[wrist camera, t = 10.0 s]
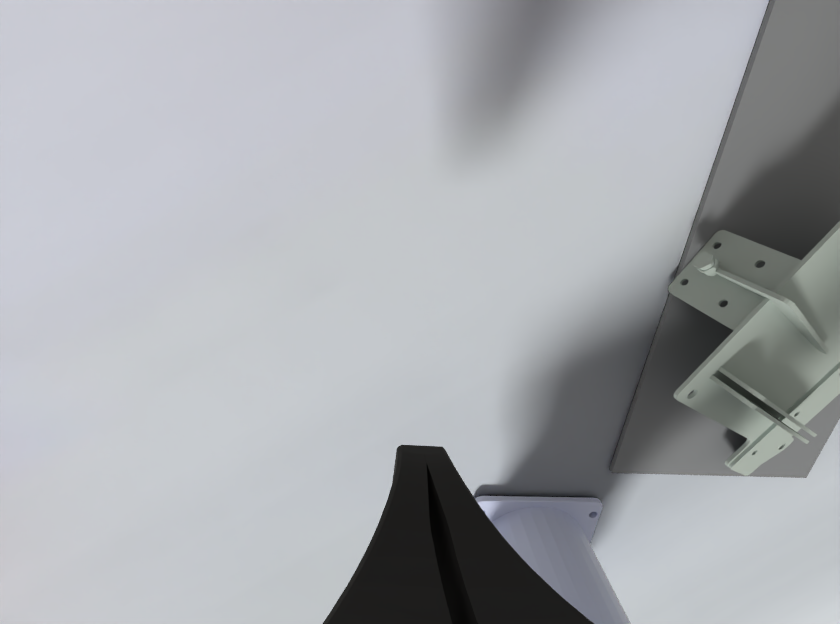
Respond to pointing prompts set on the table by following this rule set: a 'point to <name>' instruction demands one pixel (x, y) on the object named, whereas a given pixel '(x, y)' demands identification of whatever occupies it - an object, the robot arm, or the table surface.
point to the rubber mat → (750, 237)
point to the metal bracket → (765, 340)
